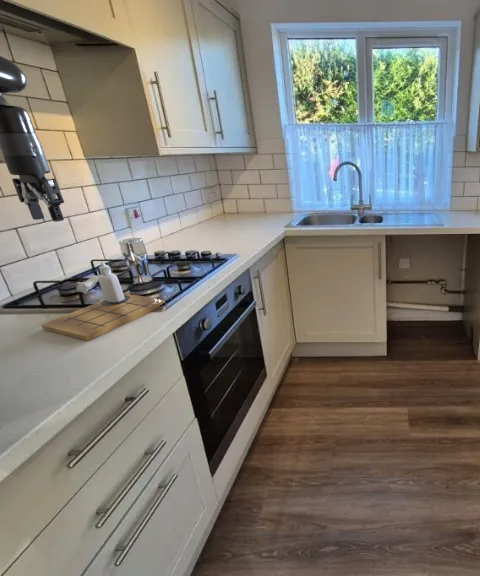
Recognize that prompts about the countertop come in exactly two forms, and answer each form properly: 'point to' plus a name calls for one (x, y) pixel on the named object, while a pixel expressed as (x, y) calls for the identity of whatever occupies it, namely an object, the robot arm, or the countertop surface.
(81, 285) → the bone fragment
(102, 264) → the eye dropper bottle
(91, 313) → the board
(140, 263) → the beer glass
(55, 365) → the countertop surface
